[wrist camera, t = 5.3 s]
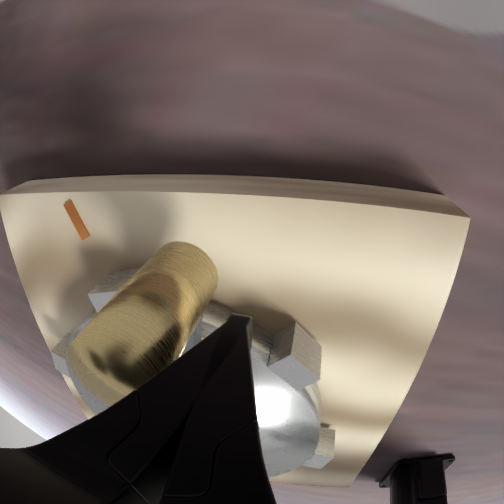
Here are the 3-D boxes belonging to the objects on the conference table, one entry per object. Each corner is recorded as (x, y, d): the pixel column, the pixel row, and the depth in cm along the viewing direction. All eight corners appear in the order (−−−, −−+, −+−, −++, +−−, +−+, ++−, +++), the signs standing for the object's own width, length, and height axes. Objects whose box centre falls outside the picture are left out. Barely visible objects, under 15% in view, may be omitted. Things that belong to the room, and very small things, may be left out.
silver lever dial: (340, 464, 18) (331, 549, 12) (150, 451, 23) (121, 513, 17) (291, 200, 11) (250, 338, 5) (23, 261, 15) (-57, 326, 9)
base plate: (349, 460, 23) (348, 488, 21) (110, 413, 28) (97, 434, 25) (444, 195, 13) (471, 218, 10) (29, 180, 17) (-4, 195, 14)
